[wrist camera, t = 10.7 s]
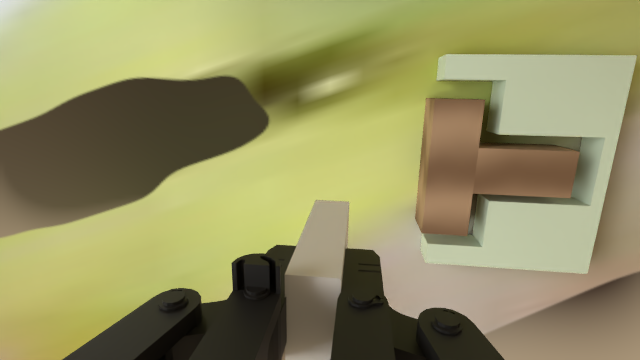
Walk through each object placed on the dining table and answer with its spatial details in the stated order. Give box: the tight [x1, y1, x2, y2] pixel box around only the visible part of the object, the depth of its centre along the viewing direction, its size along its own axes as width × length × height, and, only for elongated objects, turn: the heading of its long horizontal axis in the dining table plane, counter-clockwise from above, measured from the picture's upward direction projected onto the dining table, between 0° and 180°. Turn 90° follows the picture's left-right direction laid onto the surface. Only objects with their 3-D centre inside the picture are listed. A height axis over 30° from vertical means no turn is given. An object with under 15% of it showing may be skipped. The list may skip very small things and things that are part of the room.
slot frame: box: [420, 54, 637, 274], centre depth 32 cm, size 19×14×3 cm
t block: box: [415, 98, 580, 236], centre depth 31 cm, size 12×12×4 cm
